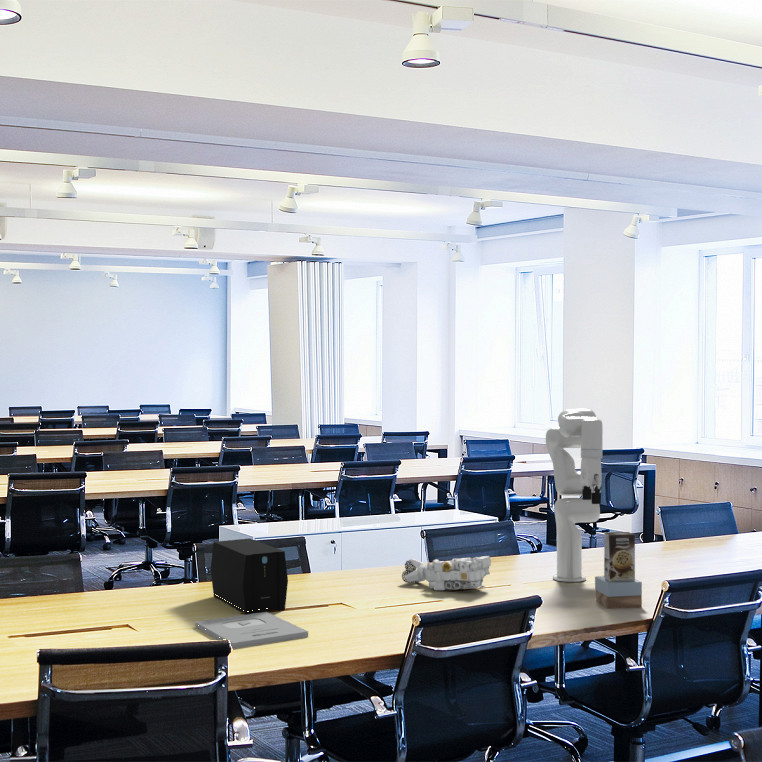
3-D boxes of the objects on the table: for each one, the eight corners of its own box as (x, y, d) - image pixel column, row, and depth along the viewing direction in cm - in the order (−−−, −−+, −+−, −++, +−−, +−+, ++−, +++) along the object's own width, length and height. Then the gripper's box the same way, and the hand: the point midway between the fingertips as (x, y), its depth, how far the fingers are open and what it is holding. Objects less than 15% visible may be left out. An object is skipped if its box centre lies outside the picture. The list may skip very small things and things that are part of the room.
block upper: (595, 589, 344) (594, 576, 344) (627, 587, 346) (627, 575, 346) (608, 596, 332) (608, 583, 332) (641, 595, 334) (641, 582, 334)
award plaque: (232, 650, 285) (232, 643, 285) (195, 628, 311) (195, 621, 311) (308, 638, 298) (308, 631, 298) (266, 618, 323) (266, 611, 323)
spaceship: (480, 593, 351) (476, 560, 352) (394, 593, 369) (391, 561, 369) (497, 585, 365) (494, 553, 366) (414, 585, 382) (411, 554, 383)
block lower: (596, 601, 345) (596, 589, 345) (629, 600, 346) (629, 587, 346) (607, 609, 333) (607, 596, 333) (641, 608, 334) (641, 595, 334)
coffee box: (609, 582, 334) (609, 535, 334) (603, 578, 341) (603, 531, 340) (635, 581, 335) (635, 534, 335) (629, 577, 342) (628, 531, 341)
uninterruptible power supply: (242, 615, 326) (242, 555, 326) (209, 596, 355) (208, 541, 355) (288, 609, 334) (287, 551, 334) (251, 591, 363) (251, 537, 363)
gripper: (573, 451, 355) (573, 498, 356) (589, 456, 338) (589, 505, 339) (593, 451, 356) (593, 497, 357) (610, 456, 339) (610, 505, 340)
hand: (591, 501), depth 348 cm, fingers open, 9 cm apart
